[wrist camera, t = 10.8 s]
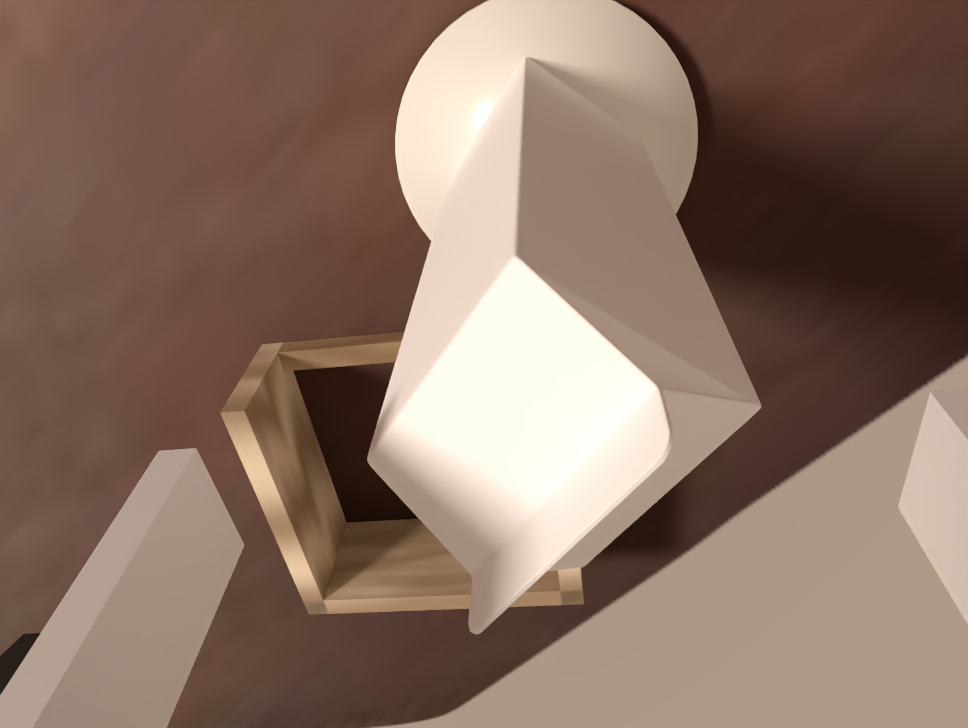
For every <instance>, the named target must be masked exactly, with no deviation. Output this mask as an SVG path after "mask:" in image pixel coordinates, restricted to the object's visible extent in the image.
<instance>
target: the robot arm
mask: <svg viewBox="0 0 968 728" xmlns="http://www.w3.org/2000/svg"><path fill="white" fill-rule="evenodd" d="M898 508H899V510H900V511H901V513H902V515H903V517H904V518H905V520H906V521H907V523H908V525H909V526H910V528H911V530H912V532H913V533H914V535H915V537H916V538H917V540H918V542H919V543H920V545H921V547H922V548H923V550H924V552H925V553H926V555H927V557H928V558H929V560H930V562H931V563H932V565H933V567H934V569H935V570H936V572H937V574H938V575H939V577H940V579H941V580H942V582H943V584H944V585H945V587H946V589H947V590H948V592H949V594H950V595H951V597H952V599H953V600H954V602H955V604H956V606H957V607H958V609H959V611H960V612H961V614H962V616H963V617H964V619H965V621H966V622H967V624H968V389H965V390H952V391H940V392H930V394H929V398H928V401H927V405H926V409H925V412H924V416H923V420H922V423H921V427H920V430H919V434H918V437H917V441H916V445H915V448H914V452H913V455H912V459H911V463H910V466H909V470H908V473H907V477H906V481H905V484H904V488H903V492H902V495H901V499H900V502H899V506H898ZM243 547H244V543H243V541H242V539H241V537H240V535H239V533H238V531H237V529H236V527H235V525H234V523H233V521H232V519H231V517H230V515H229V513H228V511H227V509H226V507H225V505H224V503H223V501H222V499H221V497H220V495H219V493H218V491H217V489H216V487H215V485H214V483H213V481H212V479H211V477H210V475H209V473H208V471H207V469H206V467H205V465H204V463H203V461H202V459H201V457H200V455H199V453H198V451H197V449H196V448H192V449H179V450H166V451H158V453H157V455H156V456H155V458H154V459H153V461H152V462H151V464H150V465H149V467H148V468H147V470H146V471H145V473H144V475H143V476H142V478H141V479H140V481H139V482H138V484H137V485H136V487H135V488H134V490H133V492H132V493H131V495H130V496H129V498H128V499H127V501H126V502H125V504H124V505H123V507H122V509H121V510H120V512H119V513H118V515H117V516H116V518H115V519H114V521H113V522H112V524H111V525H110V527H109V529H108V530H107V532H106V533H105V535H104V536H103V538H102V539H101V541H100V542H99V544H98V546H97V547H96V549H95V550H94V552H93V553H92V555H91V556H90V558H89V559H88V561H87V563H86V564H85V566H84V567H83V569H82V570H81V572H80V573H79V575H78V576H77V578H76V579H75V581H74V583H73V584H72V586H71V587H70V589H69V590H68V592H67V593H66V595H65V596H64V598H63V600H62V601H61V603H60V604H59V606H58V607H57V609H56V610H55V612H54V613H53V615H52V617H51V618H50V620H49V621H48V623H47V624H46V626H45V627H44V629H43V630H42V632H41V633H34V634H23V635H22V636H21V637H20V638H19V639H18V640H17V641H16V642H15V643H14V644H13V645H12V646H11V647H9V648H8V649H7V650H6V651H5V652H4V653H3V654H2V655H1V656H0V728H167V725H168V723H169V721H170V718H171V716H172V714H173V711H174V709H175V706H176V704H177V702H178V699H179V697H180V695H181V692H182V690H183V688H184V685H185V683H186V681H187V678H188V676H189V674H190V671H191V669H192V667H193V664H194V662H195V660H196V657H197V655H198V653H199V650H200V648H201V646H202V643H203V641H204V639H205V636H206V634H207V631H208V629H209V627H210V624H211V622H212V620H213V617H214V615H215V613H216V610H217V608H218V606H219V603H220V601H221V599H222V596H223V594H224V592H225V589H226V587H227V585H228V582H229V580H230V578H231V575H232V573H233V571H234V568H235V566H236V564H237V561H238V559H239V556H240V554H241V552H242V549H243Z"/></svg>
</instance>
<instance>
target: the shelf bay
mask: <svg viewBox="0 0 968 728" xmlns="http://www.w3.org/2000/svg"><path fill="white" fill-rule="evenodd" d="M404 332H405V331H404ZM404 332H393V333H382V334H371V335H360V336H349V337H338V338H327V339H316V340H305V341H294V342H283V343H272V344H262V345H261V347H260V349H259V350H258V352H257V353H256V355H255V357H254V358H253V360H252V362H251V363H250V365H249V367H248V368H247V370H246V371H245V373H244V375H243V376H242V378H241V380H240V381H239V383H238V385H237V386H236V388H235V389H234V391H233V393H232V394H231V396H230V398H229V399H228V401H227V403H226V404H225V406H224V407H223V409H222V411H221V412H220V413H221V416H222V418H223V420H224V422H225V425H226V427H227V429H228V432H229V434H230V436H231V438H232V441H233V443H234V445H235V447H236V450H237V452H238V454H239V457H240V459H241V461H242V463H243V466H244V468H245V470H246V473H247V475H248V477H249V479H250V482H251V484H252V486H253V488H254V491H255V493H256V495H257V498H258V500H259V502H260V504H261V507H262V509H263V511H264V513H265V516H266V518H267V520H268V523H269V525H270V527H271V529H272V532H273V534H274V536H275V538H276V541H277V543H278V545H279V548H280V550H281V552H282V554H283V557H284V559H285V561H286V563H287V566H288V568H289V570H290V573H291V575H292V577H293V579H294V582H295V584H296V586H297V588H298V591H299V593H300V595H301V598H302V600H303V602H304V604H305V607H306V609H307V611H308V613H309V614H335V613H361V612H388V611H414V610H440V609H467V608H470V598H471V586H472V577H471V575H470V573H469V572H468V571H467V570H466V569H465V568H464V567H463V566H462V565H461V563H460V562H459V561H458V560H457V559H456V558H455V557H454V556H453V555H452V554H451V553H450V552H449V551H448V549H447V548H446V547H445V546H444V545H443V544H442V543H441V542H440V541H439V540H438V539H437V538H436V537H435V535H434V534H433V533H432V532H431V531H430V530H429V529H428V528H427V527H426V526H425V525H424V524H423V523H422V521H421V520H420V519H403V520H385V521H367V522H349V523H347V522H346V519H345V517H344V514H343V511H342V508H341V505H340V502H339V500H338V497H337V494H336V491H335V488H334V485H333V483H332V480H331V477H330V474H329V471H328V468H327V466H326V463H325V460H324V457H323V454H322V451H321V448H320V446H319V443H318V440H317V437H316V434H315V431H314V429H313V426H312V423H311V420H310V417H309V414H308V412H307V409H306V406H305V403H304V400H303V397H302V395H301V392H300V389H299V386H298V383H297V380H296V377H295V375H294V372H293V371H294V370H306V369H317V368H329V367H341V366H353V365H365V364H376V363H388V362H396V359H397V355H398V352H399V349H400V345H401V342H402V339H403V335H404ZM572 604H584V600H583V586H582V572H581V568H574V569H564V570H554V571H547V572H546V573H545V574H544V575H542V576H541V577H540V578H539V579H538V580H537V581H536V582H535V583H534V584H533V585H532V586H531V587H530V588H529V589H527V590H526V591H525V592H524V593H523V594H522V595H521V596H520V597H519V598H518V599H517V600H516V601H515V602H513V603H512V604H511V605H510V606H509V607H520V606H546V605H572Z"/></svg>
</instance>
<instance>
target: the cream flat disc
mask: <svg viewBox="0 0 968 728" xmlns="http://www.w3.org/2000/svg"><path fill="white" fill-rule="evenodd" d="M525 57H528V58H529V59H531V60H532V61H534V62H535V63H536V64H538V65H539V66H541V67H542V68H543V69H545V70H546V71H548V72H549V73H551V74H552V75H553V76H555V77H556V78H558V79H559V80H561V81H562V82H563V83H565V84H566V85H568V86H569V87H571V88H572V89H573V90H575V91H576V92H578V93H579V94H581V95H582V96H583V97H585V98H586V99H588V100H589V101H590V102H592V103H593V104H595V105H596V106H598V107H599V108H600V109H602V110H603V111H605V112H606V113H608V114H609V115H610V116H612V117H613V118H615V119H616V120H618V121H619V122H620V123H622V124H623V125H625V126H626V127H628V128H629V129H630V130H632V131H633V132H635V133H636V134H637V135H639V136H640V137H641V139H642V141H643V143H644V145H645V147H646V150H647V152H648V154H649V156H650V159H651V161H652V163H653V165H654V167H655V170H656V172H657V174H658V176H659V179H660V181H661V183H662V185H663V188H664V190H665V192H666V194H667V196H668V199H669V201H670V203H671V205H672V208H673V210H674V212H675V214H676V213H677V211H678V209H679V207H680V205H681V203H682V201H683V200H684V198H685V195H686V193H687V190H688V187H689V184H690V182H691V179H692V175H693V171H694V166H695V162H696V155H697V145H698V124H697V114H696V109H695V103H694V98H693V95H692V92H691V89H690V85H689V82H688V79H687V77H686V75H685V73H684V71H683V69H682V67H681V65H680V63H679V61H678V59H677V58H676V56H675V55H674V53H673V52H672V50H671V49H670V47H669V46H668V45H667V43H666V42H665V41H664V40H663V39H662V37H661V36H660V35H659V34H658V33H657V32H656V31H655V30H654V29H653V28H652V27H651V26H650V25H649V24H648V23H647V22H646V21H645V20H643V19H642V18H641V17H640V16H638V15H637V14H636V13H635V12H633V11H632V10H630V9H629V8H627V7H625V6H624V5H622V4H620V3H618V2H617V1H615V0H486V1H484V2H483V3H481V4H479V5H477V6H475V7H474V8H472V9H470V10H468V11H467V12H466V13H464V14H463V15H462V16H460V17H459V18H458V19H456V20H455V21H454V22H452V23H451V24H450V25H449V26H448V27H447V28H446V29H445V30H444V31H443V32H442V33H441V34H440V35H439V36H438V37H437V38H436V39H435V41H434V42H433V43H432V45H431V46H430V47H429V49H428V50H427V51H426V52H425V54H424V55H423V57H422V58H421V59H420V61H419V63H418V65H417V66H416V68H415V70H414V72H413V74H412V75H411V77H410V79H409V82H408V84H407V87H406V90H405V92H404V95H403V97H402V101H401V105H400V109H399V113H398V117H397V126H396V135H395V151H396V162H397V169H398V176H399V179H400V183H401V186H402V190H403V193H404V196H405V198H406V201H407V203H408V205H409V208H410V210H411V212H412V214H413V215H414V217H415V219H416V220H417V222H418V224H419V226H420V227H421V228H422V230H423V231H424V232H425V234H426V235H427V236H428V238H429V239H430V240H431V241H432V238H433V235H434V232H435V228H436V225H437V222H438V218H439V215H440V212H441V208H442V205H443V201H444V198H445V195H446V191H447V188H448V185H449V181H450V178H451V176H452V174H453V172H454V171H455V169H456V167H457V166H458V164H459V162H460V161H461V159H462V158H463V156H464V154H465V153H466V151H467V149H468V148H469V146H470V145H471V143H472V141H473V140H474V138H475V137H476V135H477V133H478V132H479V130H480V128H481V127H482V125H483V124H484V122H485V120H486V119H487V117H488V115H489V114H490V112H491V111H492V109H493V107H494V106H495V104H496V103H497V101H498V99H499V98H500V96H501V94H502V93H503V91H504V90H505V88H506V86H507V85H508V83H509V82H510V80H511V78H512V77H513V75H514V73H515V72H516V70H517V69H518V67H519V65H520V64H521V62H522V61H523V59H524V58H525Z"/></svg>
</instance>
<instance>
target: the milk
mask: <svg viewBox="0 0 968 728" xmlns="http://www.w3.org/2000/svg"><path fill="white" fill-rule="evenodd" d="M760 408H761V404H760V401H759V399H758V397H757V394H756V392H755V390H754V388H753V386H752V383H751V381H750V379H749V377H748V374H747V372H746V370H745V368H744V366H743V363H742V361H741V359H740V357H739V354H738V352H737V350H736V348H735V346H734V343H733V341H732V339H731V337H730V334H729V332H728V330H727V328H726V325H725V323H724V321H723V319H722V317H721V314H720V312H719V310H718V308H717V305H716V303H715V301H714V299H713V297H712V294H711V292H710V290H709V288H708V285H707V283H706V281H705V279H704V277H703V274H702V272H701V270H700V268H699V265H698V263H697V261H696V259H695V256H694V254H693V252H692V250H691V248H690V245H689V243H688V241H687V239H686V236H685V234H684V232H683V230H682V228H681V225H680V223H679V221H678V219H677V216H676V214H675V212H674V210H673V208H672V205H671V203H670V201H669V199H668V196H667V194H666V192H665V190H664V188H663V185H662V183H661V181H660V179H659V176H658V174H657V172H656V170H655V167H654V165H653V163H652V161H651V159H650V156H649V154H648V152H647V150H646V147H645V145H644V143H643V141H642V139H641V137H640V136H639V135H637V134H636V133H635V132H633V131H632V130H630V129H629V128H628V127H626V126H625V125H623V124H622V123H620V122H619V121H618V120H616V119H615V118H613V117H612V116H610V115H609V114H608V113H606V112H605V111H603V110H602V109H600V108H599V107H598V106H596V105H595V104H593V103H592V102H590V101H589V100H588V99H586V98H585V97H583V96H582V95H581V94H579V93H578V92H576V91H575V90H573V89H572V88H571V87H569V86H568V85H566V84H565V83H563V82H562V81H561V80H559V79H558V78H556V77H555V76H553V75H552V74H551V73H549V72H548V71H546V70H545V69H543V68H542V67H541V66H539V65H538V64H536V63H535V62H534V61H532V60H531V59H529V58H528V57H525V58H524V59H523V61H522V62H521V64H520V65H519V67H518V69H517V70H516V72H515V73H514V75H513V77H512V78H511V80H510V82H509V83H508V85H507V86H506V88H505V90H504V91H503V93H502V94H501V96H500V98H499V99H498V101H497V103H496V104H495V106H494V107H493V109H492V111H491V112H490V114H489V115H488V117H487V119H486V120H485V122H484V124H483V125H482V127H481V128H480V130H479V132H478V133H477V135H476V137H475V138H474V140H473V141H472V143H471V145H470V146H469V148H468V149H467V151H466V153H465V154H464V156H463V158H462V159H461V161H460V162H459V164H458V166H457V167H456V169H455V171H454V172H453V174H452V176H451V178H450V181H449V185H448V188H447V191H446V195H445V198H444V201H443V205H442V208H441V212H440V215H439V218H438V222H437V225H436V228H435V232H434V235H433V238H432V242H431V245H430V248H429V252H428V255H427V258H426V262H425V265H424V268H423V272H422V275H421V278H420V282H419V285H418V288H417V292H416V295H415V299H414V302H413V305H412V309H411V312H410V315H409V319H408V322H407V325H406V329H405V332H404V335H403V339H402V342H401V345H400V349H399V352H398V355H397V359H396V362H395V365H394V369H393V372H392V376H391V379H390V382H389V386H388V389H387V392H386V396H385V399H384V402H383V406H382V409H381V412H380V416H379V419H378V422H377V426H376V429H375V432H374V436H373V439H372V442H371V446H370V449H369V453H368V456H367V461H368V463H369V465H370V466H371V467H372V469H373V470H374V471H375V472H376V473H377V474H378V475H379V476H380V477H381V478H382V479H383V481H384V482H385V483H386V484H387V485H388V486H389V487H390V488H391V489H392V490H393V491H394V492H395V493H396V495H397V496H398V497H399V498H400V499H401V500H402V501H403V502H404V503H405V504H406V505H407V506H408V507H409V509H410V510H411V511H412V512H413V513H414V514H415V515H416V516H417V517H418V518H419V519H420V520H421V521H422V523H423V524H424V525H425V526H426V527H427V528H428V529H429V530H430V531H431V532H432V533H433V534H434V535H435V537H436V538H437V539H438V540H439V541H440V542H441V543H442V544H443V545H444V546H445V547H446V548H447V549H448V551H449V552H450V553H451V554H452V555H453V556H454V557H455V558H456V559H457V560H458V561H459V562H460V563H461V565H462V566H463V567H464V568H465V569H466V570H467V571H468V572H469V573H470V575H471V577H472V586H471V598H470V610H469V630H470V631H471V632H472V633H474V634H480V633H481V632H482V631H483V630H484V629H486V628H487V627H488V626H489V625H490V624H491V623H492V622H493V621H494V620H495V619H496V618H497V617H498V616H499V615H501V614H502V613H503V612H504V611H505V610H506V609H507V608H508V607H509V606H510V605H511V604H512V603H513V602H515V601H516V600H517V599H518V598H519V597H520V596H521V595H522V594H523V593H524V592H525V591H526V590H527V589H529V588H530V587H531V586H532V585H533V584H534V583H535V582H536V581H537V580H538V579H539V578H540V577H541V576H542V575H544V574H545V573H546V572H547V571H554V570H564V569H574V568H581V567H583V566H585V565H586V564H587V563H589V562H590V561H591V560H592V559H593V558H594V557H595V556H597V555H598V554H599V553H600V552H601V551H602V550H603V549H604V548H605V547H607V546H608V545H609V544H610V543H611V542H612V541H613V540H614V539H616V538H617V537H618V536H619V535H620V534H621V533H622V532H623V531H624V530H626V529H627V528H628V527H629V526H630V525H631V524H632V523H633V522H635V521H636V520H637V519H638V518H639V517H640V516H641V515H642V514H643V513H645V512H646V511H647V510H648V509H649V508H650V507H651V506H652V505H654V504H655V503H656V502H657V501H658V500H659V499H660V498H661V497H662V496H664V495H665V494H666V493H667V492H668V491H669V490H670V489H671V488H673V487H674V486H675V485H676V484H677V483H678V482H679V481H680V480H681V479H683V478H684V477H685V476H686V475H687V474H688V473H689V472H690V471H692V470H693V469H694V468H695V467H696V466H697V465H698V464H699V463H701V462H702V461H703V460H704V459H705V458H706V457H707V456H708V455H709V454H711V453H712V452H713V451H714V450H715V449H716V448H717V447H718V446H720V445H721V444H722V443H723V442H724V441H725V440H726V439H727V438H728V437H730V436H731V435H732V434H733V433H734V432H735V431H736V430H737V429H739V428H740V427H741V426H742V425H743V424H744V423H745V422H746V421H747V420H749V419H750V418H751V417H752V416H753V415H754V414H755V413H756V412H757V411H758V410H759V409H760Z"/></svg>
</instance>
